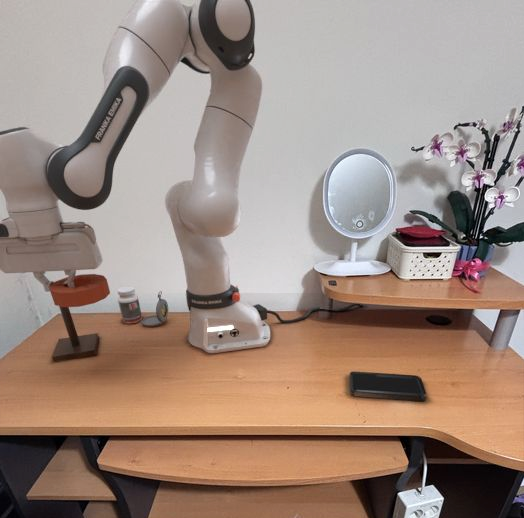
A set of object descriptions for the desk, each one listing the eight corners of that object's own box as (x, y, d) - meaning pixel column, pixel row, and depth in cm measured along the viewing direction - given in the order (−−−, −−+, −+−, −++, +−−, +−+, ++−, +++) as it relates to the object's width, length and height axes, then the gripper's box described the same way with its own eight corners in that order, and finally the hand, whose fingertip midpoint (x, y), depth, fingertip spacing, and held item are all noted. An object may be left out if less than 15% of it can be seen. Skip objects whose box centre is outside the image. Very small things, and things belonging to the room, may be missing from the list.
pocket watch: (140, 320, 114) (133, 289, 109) (168, 315, 117) (163, 284, 112) (144, 331, 107) (137, 299, 102) (173, 325, 110) (168, 293, 105)
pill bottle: (146, 319, 115) (139, 288, 110) (129, 325, 111) (122, 294, 106) (135, 314, 118) (129, 284, 113) (119, 320, 114) (111, 289, 109)
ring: (115, 286, 87) (112, 272, 85) (99, 305, 77) (95, 291, 75) (67, 288, 87) (62, 275, 85) (44, 308, 77) (39, 293, 75)
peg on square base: (99, 337, 105) (87, 295, 99) (95, 355, 97) (82, 310, 90) (60, 343, 103) (45, 301, 96) (53, 361, 94) (37, 316, 88)
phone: (427, 397, 75) (350, 391, 78) (426, 401, 76) (350, 395, 78) (420, 375, 82) (349, 370, 84) (419, 379, 82) (349, 374, 85)
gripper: (97, 218, 77) (113, 282, 84) (-4, 222, 77) (21, 287, 84) (85, 224, 71) (103, 293, 78) (-23, 229, 71) (5, 298, 78)
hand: (60, 290), depth 81 cm, fingers closed on ring, 3 cm apart
